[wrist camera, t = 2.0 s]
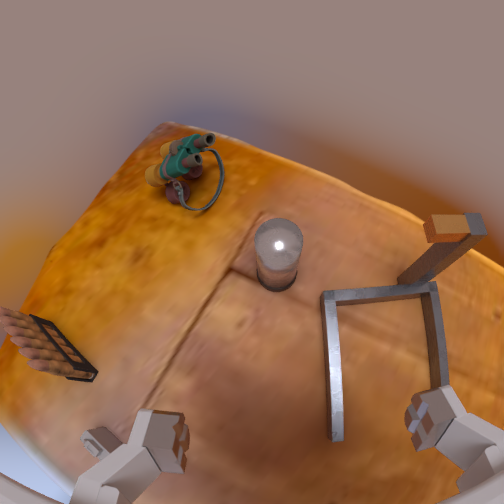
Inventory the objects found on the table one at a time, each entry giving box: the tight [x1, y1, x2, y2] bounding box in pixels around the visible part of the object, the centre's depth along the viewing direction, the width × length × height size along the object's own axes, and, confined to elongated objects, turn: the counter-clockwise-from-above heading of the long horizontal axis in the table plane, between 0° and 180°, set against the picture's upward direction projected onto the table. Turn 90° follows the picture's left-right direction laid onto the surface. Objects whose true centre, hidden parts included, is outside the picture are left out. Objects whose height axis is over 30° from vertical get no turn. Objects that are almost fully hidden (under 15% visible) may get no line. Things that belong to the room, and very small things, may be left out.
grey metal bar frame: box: [320, 213, 487, 442], centre depth 24 cm, size 14×18×16 cm
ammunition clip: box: [0, 307, 98, 382], centre depth 27 cm, size 11×2×12 cm, turn 57°
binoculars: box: [145, 133, 224, 210], centre depth 37 cm, size 9×9×10 cm
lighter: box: [80, 427, 123, 460], centre depth 24 cm, size 7×2×8 cm, turn 55°
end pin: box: [254, 218, 303, 292], centre depth 32 cm, size 5×5×9 cm
